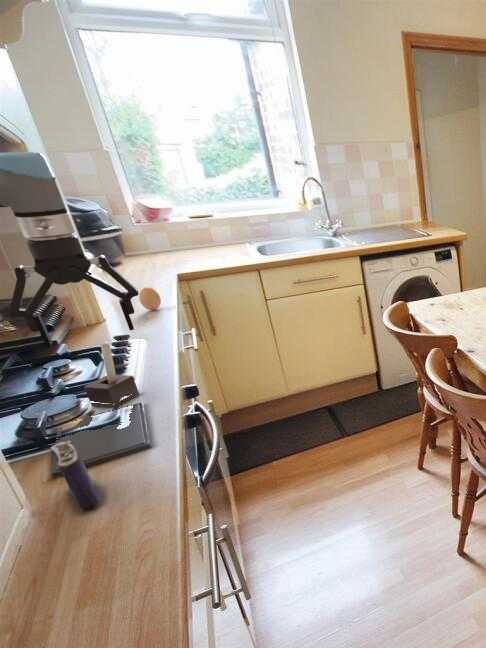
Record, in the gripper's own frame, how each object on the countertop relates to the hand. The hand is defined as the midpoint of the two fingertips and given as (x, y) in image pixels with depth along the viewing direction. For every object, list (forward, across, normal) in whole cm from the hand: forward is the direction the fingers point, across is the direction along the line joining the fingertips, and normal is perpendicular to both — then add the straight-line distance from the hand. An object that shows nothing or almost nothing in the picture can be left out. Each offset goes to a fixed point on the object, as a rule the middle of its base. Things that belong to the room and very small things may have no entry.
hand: (92, 336), depth 100 cm
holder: (+16, 0, 0) cm, 16 cm away
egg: (+16, +12, +71) cm, 73 cm away
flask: (+16, -5, -36) cm, 40 cm away
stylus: (+16, 0, 0) cm, 16 cm away
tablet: (+16, -3, -17) cm, 23 cm away
